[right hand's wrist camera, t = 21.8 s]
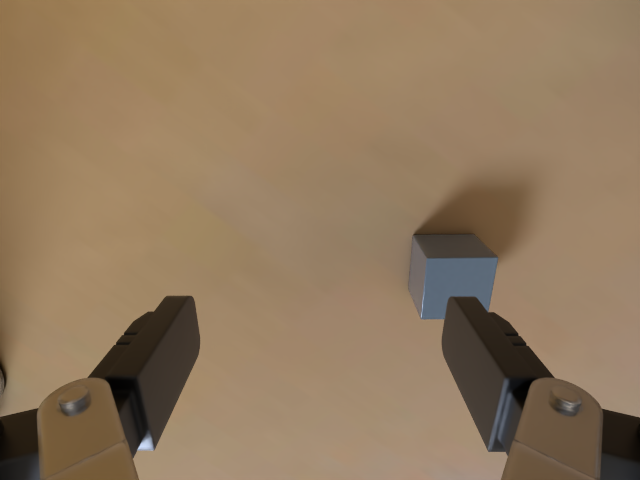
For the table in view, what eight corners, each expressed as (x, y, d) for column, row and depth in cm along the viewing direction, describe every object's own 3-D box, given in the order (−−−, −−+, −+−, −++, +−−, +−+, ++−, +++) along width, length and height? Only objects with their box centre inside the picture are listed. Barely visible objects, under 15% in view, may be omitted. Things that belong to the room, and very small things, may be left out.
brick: (466, 288, 28) (487, 319, 25) (408, 289, 29) (420, 319, 25) (474, 233, 27) (498, 257, 23) (412, 234, 27) (426, 258, 23)
